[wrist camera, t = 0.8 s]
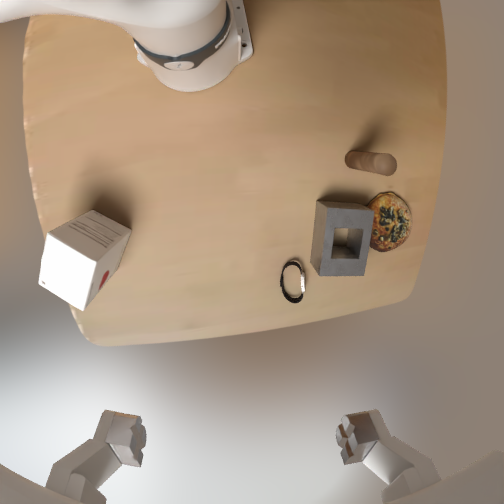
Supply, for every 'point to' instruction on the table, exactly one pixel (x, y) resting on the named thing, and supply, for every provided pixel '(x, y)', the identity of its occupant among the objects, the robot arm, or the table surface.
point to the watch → (296, 300)
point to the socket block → (359, 234)
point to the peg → (371, 162)
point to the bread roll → (389, 222)
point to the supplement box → (82, 257)
